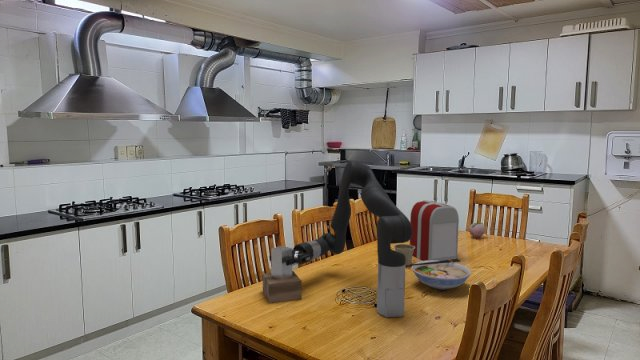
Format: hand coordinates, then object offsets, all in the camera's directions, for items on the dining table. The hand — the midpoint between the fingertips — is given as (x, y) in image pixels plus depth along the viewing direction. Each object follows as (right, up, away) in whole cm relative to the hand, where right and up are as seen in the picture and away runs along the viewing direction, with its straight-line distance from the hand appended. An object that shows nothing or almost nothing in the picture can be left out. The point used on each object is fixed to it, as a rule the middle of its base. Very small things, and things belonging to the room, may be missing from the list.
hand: (278, 260), depth 162 cm
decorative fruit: (+105, -4, +91) cm, 140 cm away
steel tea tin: (+1, -7, +2) cm, 7 cm away
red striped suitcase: (+71, -8, +53) cm, 89 cm away
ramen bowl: (+63, -13, +13) cm, 66 cm away
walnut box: (+1, -14, +3) cm, 14 cm away
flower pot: (+54, -10, +41) cm, 69 cm away
